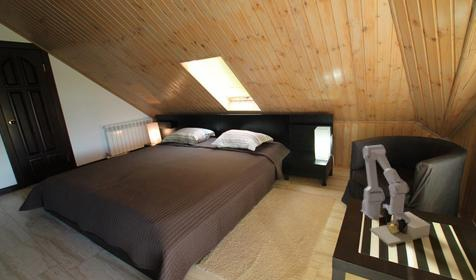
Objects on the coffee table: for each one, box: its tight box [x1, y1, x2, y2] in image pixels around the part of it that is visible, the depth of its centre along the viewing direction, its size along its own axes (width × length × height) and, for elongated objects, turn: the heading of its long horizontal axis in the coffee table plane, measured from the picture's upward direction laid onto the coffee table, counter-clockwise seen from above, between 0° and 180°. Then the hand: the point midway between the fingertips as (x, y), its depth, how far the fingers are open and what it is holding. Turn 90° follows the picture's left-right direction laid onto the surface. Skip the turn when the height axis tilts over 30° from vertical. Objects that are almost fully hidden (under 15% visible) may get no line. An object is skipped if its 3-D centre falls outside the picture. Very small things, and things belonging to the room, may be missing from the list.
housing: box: [369, 211, 431, 246], centre depth 115 cm, size 12×24×7 cm, turn 100°
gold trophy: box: [387, 220, 408, 234], centre depth 116 cm, size 6×14×4 cm, turn 100°
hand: (394, 226), depth 115 cm, fingers open, 7 cm apart
